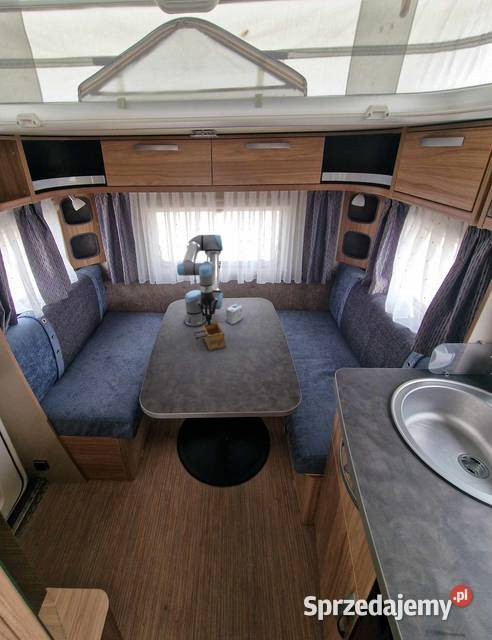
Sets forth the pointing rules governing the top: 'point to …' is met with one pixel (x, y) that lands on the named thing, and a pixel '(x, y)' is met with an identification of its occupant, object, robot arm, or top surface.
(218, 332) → the light wood box
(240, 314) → the light bulb box
